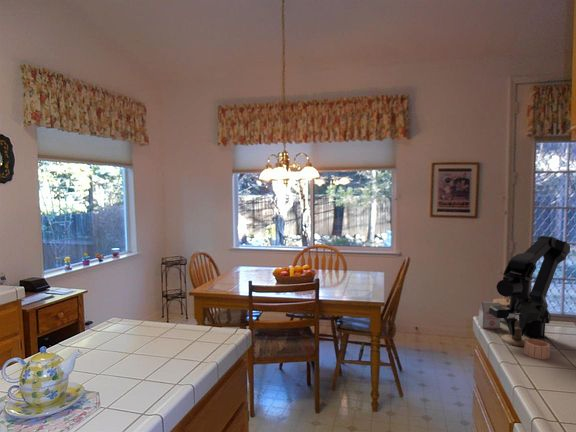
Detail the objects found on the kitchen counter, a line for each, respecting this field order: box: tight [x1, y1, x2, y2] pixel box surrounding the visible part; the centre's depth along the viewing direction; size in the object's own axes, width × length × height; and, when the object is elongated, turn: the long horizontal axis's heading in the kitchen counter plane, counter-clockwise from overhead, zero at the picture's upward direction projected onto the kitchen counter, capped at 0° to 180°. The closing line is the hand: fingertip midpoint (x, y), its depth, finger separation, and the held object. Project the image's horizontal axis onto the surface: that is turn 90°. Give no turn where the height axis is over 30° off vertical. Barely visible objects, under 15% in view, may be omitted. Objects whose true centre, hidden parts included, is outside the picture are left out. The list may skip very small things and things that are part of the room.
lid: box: [501, 326, 528, 348], centre depth 138 cm, size 9×9×5 cm
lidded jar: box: [492, 297, 519, 323], centre depth 162 cm, size 11×11×9 cm
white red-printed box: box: [477, 301, 501, 330], centre depth 153 cm, size 4×7×10 cm, turn 88°
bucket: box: [523, 338, 551, 360], centre depth 128 cm, size 7×7×4 cm
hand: (516, 335), depth 138 cm, fingers closed on lid, 3 cm apart
